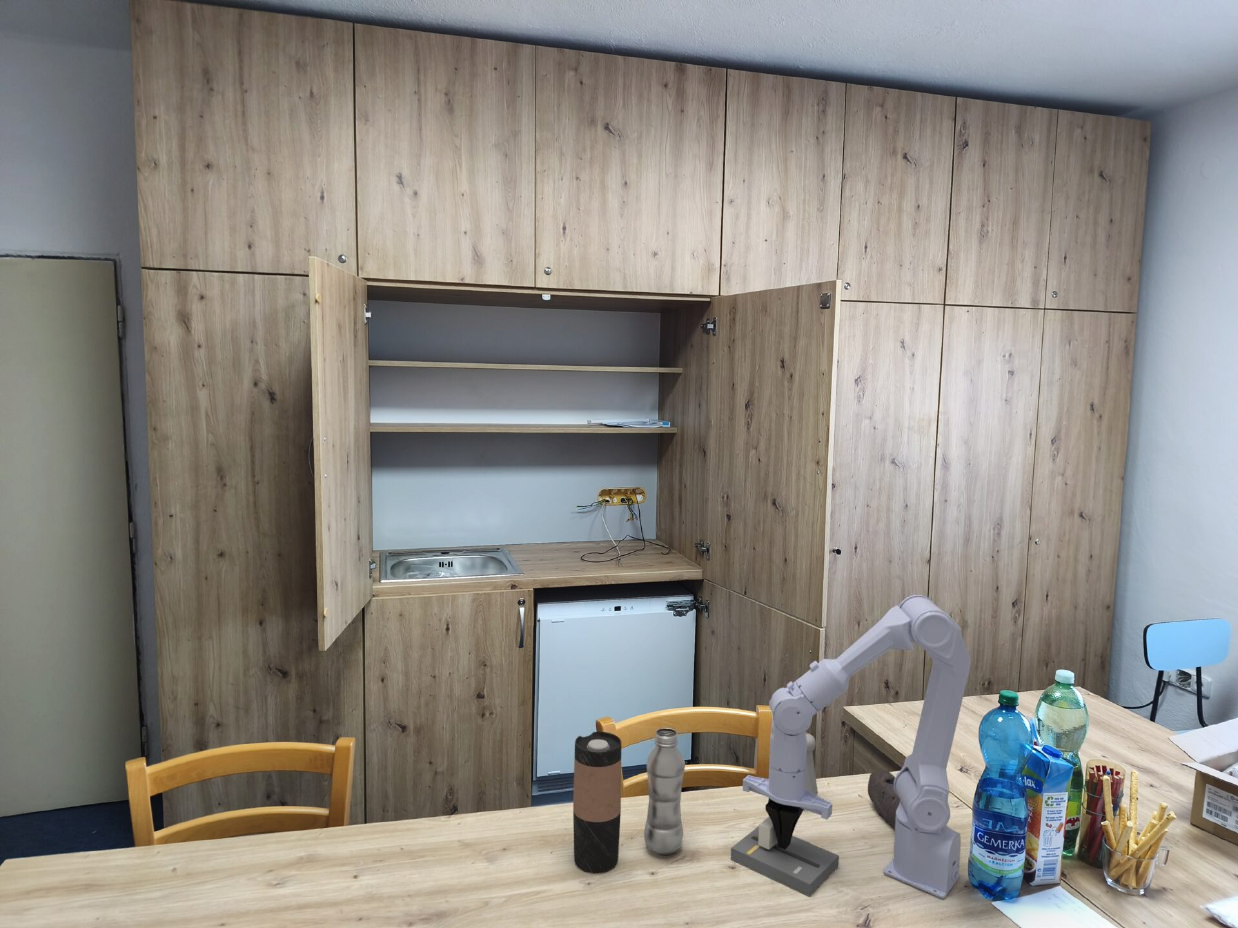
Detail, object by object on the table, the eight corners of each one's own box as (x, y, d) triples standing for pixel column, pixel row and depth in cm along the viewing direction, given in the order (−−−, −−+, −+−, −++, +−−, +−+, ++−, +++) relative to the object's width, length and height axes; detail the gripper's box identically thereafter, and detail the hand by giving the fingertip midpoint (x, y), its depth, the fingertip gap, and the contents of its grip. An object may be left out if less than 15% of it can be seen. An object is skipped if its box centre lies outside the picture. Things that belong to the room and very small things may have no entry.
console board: (838, 866, 125) (839, 854, 125) (809, 896, 118) (809, 883, 118) (762, 833, 134) (762, 822, 134) (730, 859, 127) (731, 846, 127)
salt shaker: (820, 811, 142) (823, 742, 141) (788, 810, 142) (791, 741, 141) (812, 794, 148) (815, 728, 147) (782, 794, 148) (785, 728, 147)
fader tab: (781, 839, 128) (782, 818, 128) (769, 849, 125) (769, 828, 125) (770, 834, 130) (771, 814, 129) (758, 844, 127) (759, 824, 126)
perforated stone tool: (931, 848, 131) (933, 809, 131) (901, 849, 131) (903, 810, 130) (891, 801, 146) (893, 766, 145) (864, 802, 145) (866, 767, 145)
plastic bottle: (636, 852, 128) (639, 735, 126) (654, 832, 134) (657, 720, 132) (672, 864, 125) (676, 744, 123) (689, 843, 131) (692, 729, 129)
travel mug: (614, 877, 121) (616, 754, 120) (567, 870, 123) (568, 749, 121) (623, 849, 129) (626, 733, 127) (579, 843, 130) (580, 728, 129)
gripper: (840, 768, 124) (836, 849, 125) (757, 742, 132) (754, 819, 133) (824, 785, 118) (820, 870, 119) (738, 758, 126) (735, 837, 128)
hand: (784, 845), depth 126 cm, fingers closed
